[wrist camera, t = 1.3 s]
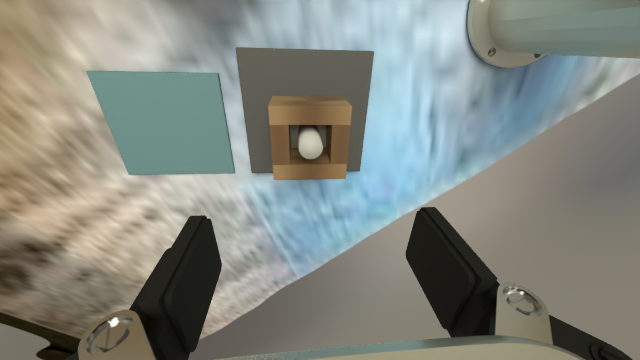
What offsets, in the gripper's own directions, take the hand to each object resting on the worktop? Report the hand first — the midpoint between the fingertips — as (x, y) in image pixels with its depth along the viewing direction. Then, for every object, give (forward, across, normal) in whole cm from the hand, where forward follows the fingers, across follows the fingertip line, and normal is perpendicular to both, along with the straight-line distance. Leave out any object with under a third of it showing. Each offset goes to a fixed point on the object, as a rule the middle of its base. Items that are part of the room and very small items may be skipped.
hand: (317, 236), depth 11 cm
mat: (+21, +16, +1) cm, 26 cm away
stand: (+21, 0, 0) cm, 21 cm away
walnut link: (+15, 0, 0) cm, 15 cm away
